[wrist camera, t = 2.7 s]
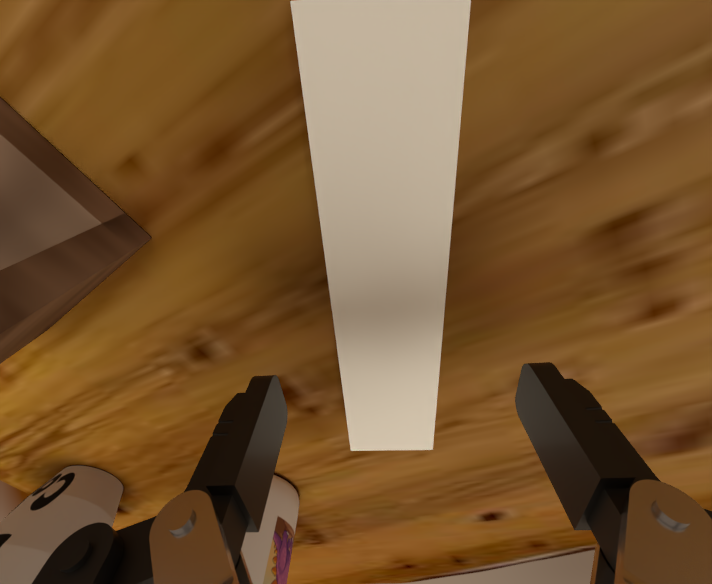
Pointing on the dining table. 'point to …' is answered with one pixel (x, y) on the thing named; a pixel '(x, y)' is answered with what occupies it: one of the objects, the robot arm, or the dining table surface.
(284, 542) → the milk bottle
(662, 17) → the dining table surface
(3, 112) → the shelf frame
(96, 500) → the cup
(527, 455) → the dining table surface
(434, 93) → the shelf board
